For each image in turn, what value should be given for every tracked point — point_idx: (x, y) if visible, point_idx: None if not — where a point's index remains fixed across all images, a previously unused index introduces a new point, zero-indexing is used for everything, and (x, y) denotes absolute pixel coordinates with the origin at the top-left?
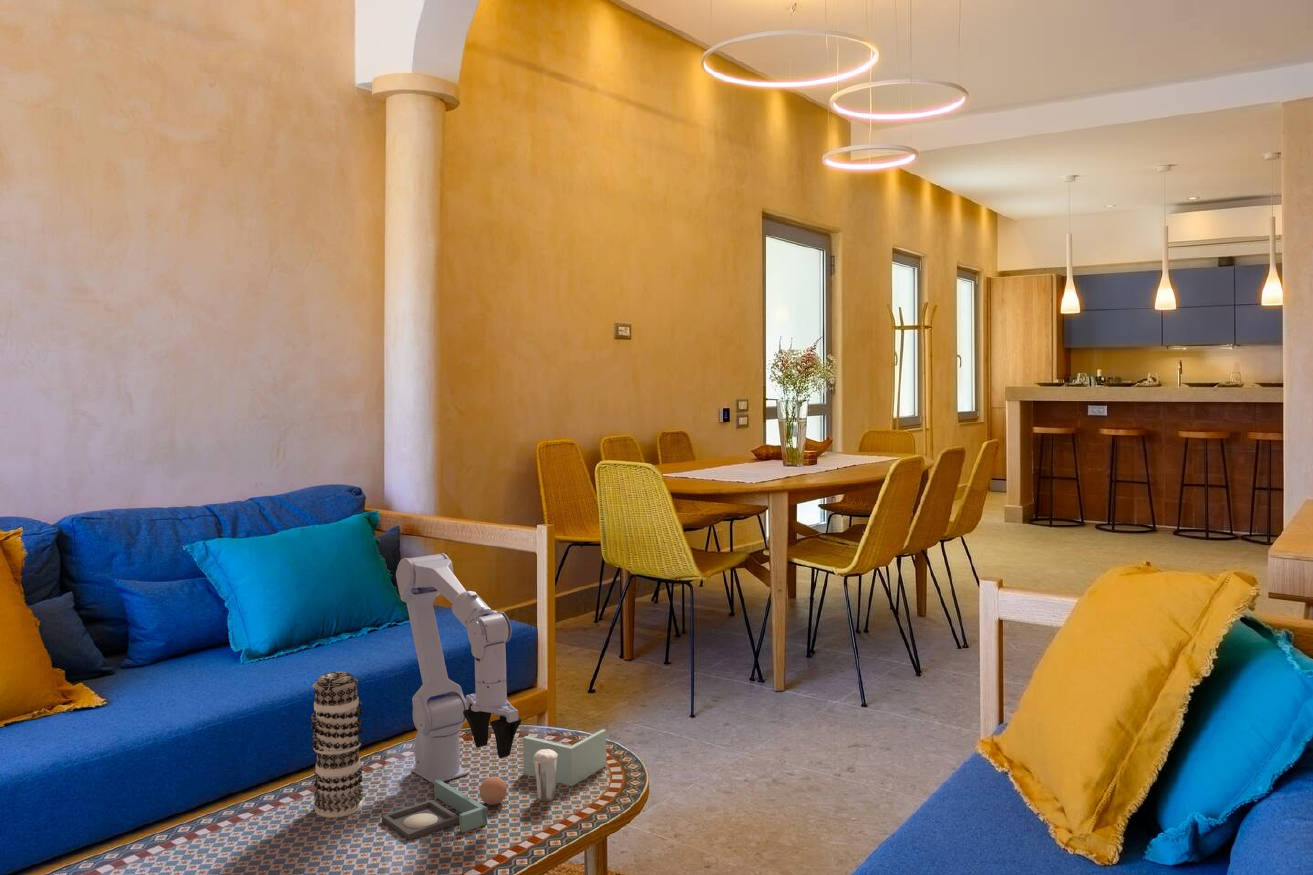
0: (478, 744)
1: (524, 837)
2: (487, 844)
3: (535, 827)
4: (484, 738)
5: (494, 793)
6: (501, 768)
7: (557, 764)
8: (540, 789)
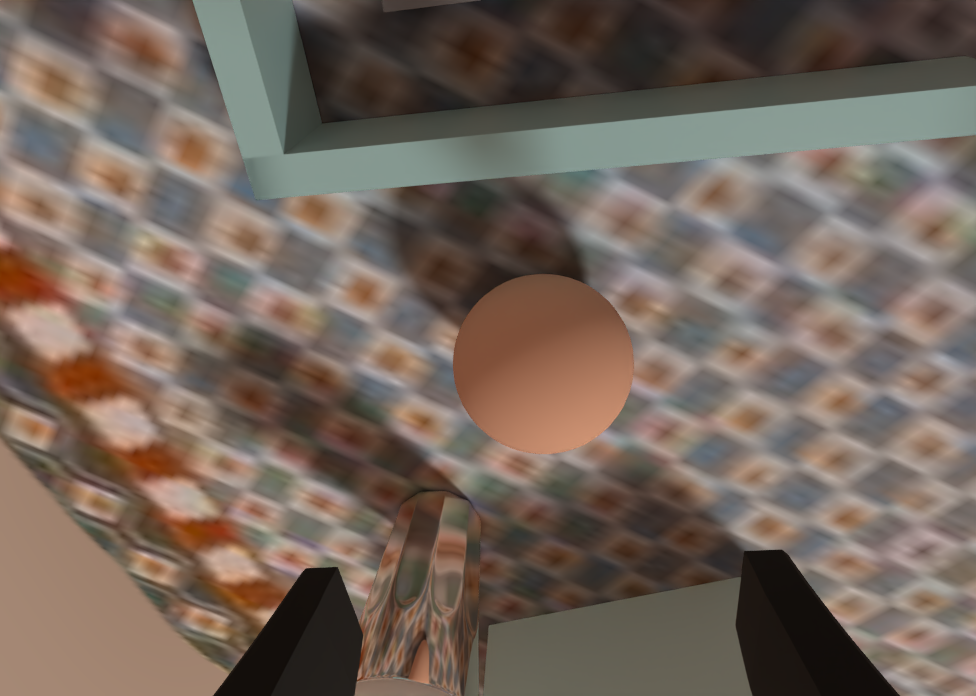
0: (755, 586)
1: (46, 251)
2: (7, 27)
3: (146, 345)
4: (763, 683)
5: (459, 342)
6: (918, 538)
7: (562, 693)
8: (407, 534)
